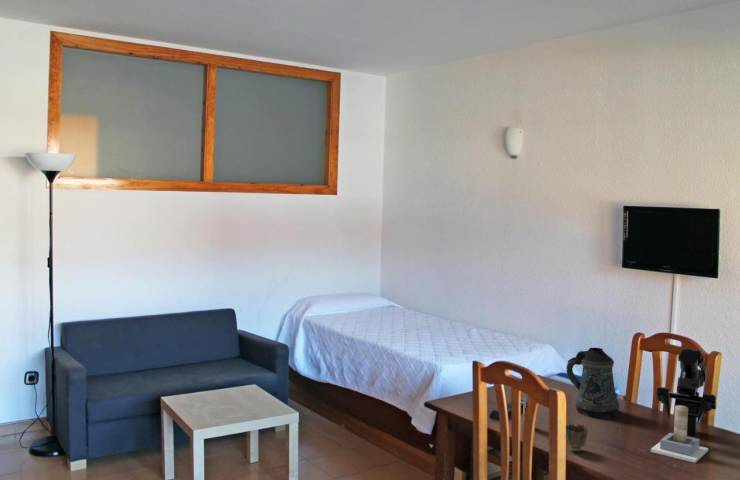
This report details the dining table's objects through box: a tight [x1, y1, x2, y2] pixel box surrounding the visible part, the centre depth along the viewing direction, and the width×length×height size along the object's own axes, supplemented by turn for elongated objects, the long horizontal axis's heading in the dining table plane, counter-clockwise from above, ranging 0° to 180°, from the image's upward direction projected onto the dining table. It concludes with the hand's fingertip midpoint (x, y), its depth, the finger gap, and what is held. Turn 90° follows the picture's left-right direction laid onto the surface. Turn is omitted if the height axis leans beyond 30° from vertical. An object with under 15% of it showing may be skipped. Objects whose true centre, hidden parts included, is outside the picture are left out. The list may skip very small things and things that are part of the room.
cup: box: [565, 423, 589, 453], centre depth 231 cm, size 8×7×8 cm
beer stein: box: [565, 347, 620, 419], centre depth 272 cm, size 16×19×25 cm
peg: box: [673, 405, 688, 444], centre depth 231 cm, size 4×4×14 cm
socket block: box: [650, 432, 709, 464], centre depth 231 cm, size 14×14×4 cm
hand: (683, 419), depth 236 cm, fingers open, 9 cm apart
